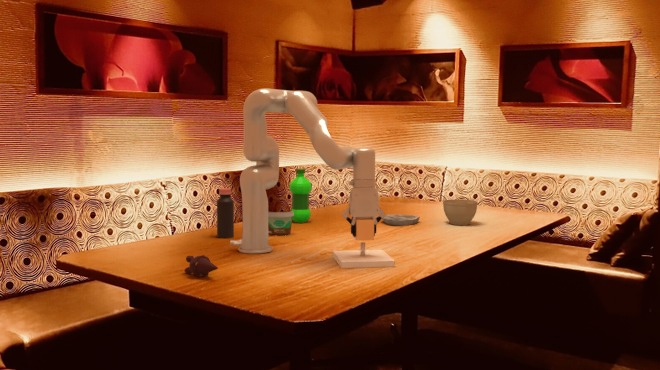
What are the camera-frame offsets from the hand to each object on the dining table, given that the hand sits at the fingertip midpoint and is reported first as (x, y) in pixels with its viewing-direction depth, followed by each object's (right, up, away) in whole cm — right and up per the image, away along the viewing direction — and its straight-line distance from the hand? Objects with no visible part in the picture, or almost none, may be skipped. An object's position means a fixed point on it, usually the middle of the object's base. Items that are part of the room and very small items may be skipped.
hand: (363, 235), depth 221 cm
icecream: (-52, -11, -22) cm, 57 cm away
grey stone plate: (+21, -1, +82) cm, 85 cm away
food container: (-32, -4, +48) cm, 58 cm away
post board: (0, -9, +1) cm, 9 cm away
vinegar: (-55, -4, +43) cm, 69 cm away
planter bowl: (+50, -1, +81) cm, 95 cm away
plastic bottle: (-26, 0, +82) cm, 85 cm away
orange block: (0, -1, 0) cm, 1 cm away
